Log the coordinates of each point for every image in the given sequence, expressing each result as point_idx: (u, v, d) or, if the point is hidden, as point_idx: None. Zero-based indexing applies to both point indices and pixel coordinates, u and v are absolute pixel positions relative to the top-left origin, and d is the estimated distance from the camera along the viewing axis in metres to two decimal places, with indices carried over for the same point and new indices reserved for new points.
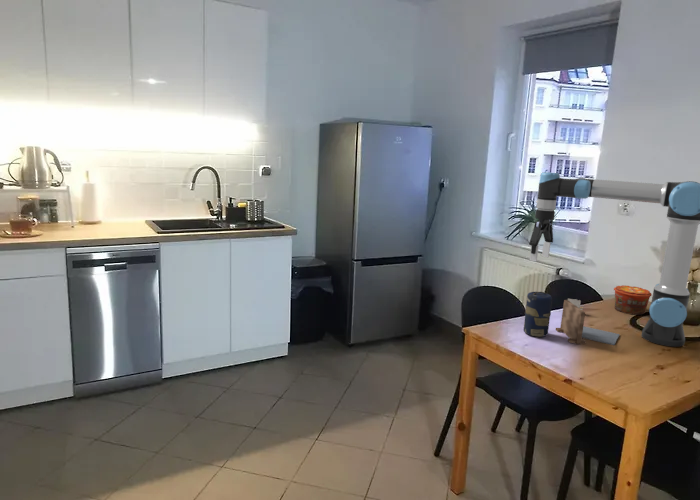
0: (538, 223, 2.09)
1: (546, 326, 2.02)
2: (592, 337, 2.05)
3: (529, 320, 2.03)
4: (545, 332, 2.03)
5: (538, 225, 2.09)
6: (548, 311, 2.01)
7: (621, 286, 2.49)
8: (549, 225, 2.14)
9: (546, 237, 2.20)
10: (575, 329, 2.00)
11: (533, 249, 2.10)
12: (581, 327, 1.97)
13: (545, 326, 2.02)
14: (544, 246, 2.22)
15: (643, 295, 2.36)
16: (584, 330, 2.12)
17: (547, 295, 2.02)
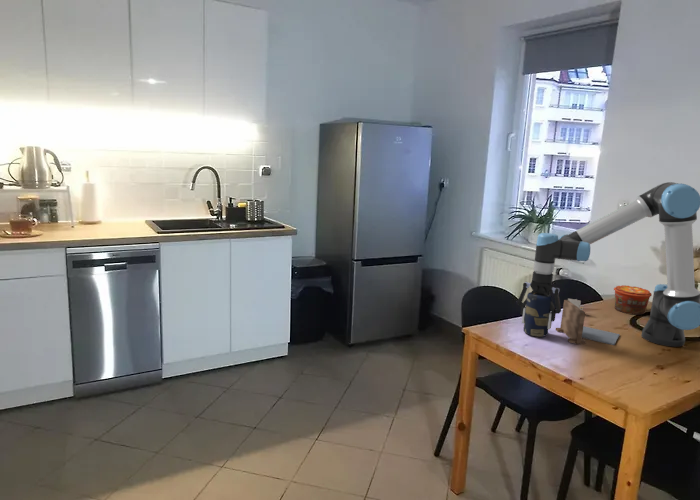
0: None
1: (546, 326, 2.02)
2: (592, 337, 2.05)
3: (529, 320, 2.03)
4: (545, 332, 2.03)
5: None
6: (548, 311, 2.01)
7: (621, 286, 2.49)
8: (543, 289, 2.01)
9: None
10: (575, 329, 2.00)
11: None
12: (581, 327, 1.97)
13: (545, 326, 2.02)
14: None
15: (643, 295, 2.36)
16: (584, 330, 2.12)
17: None
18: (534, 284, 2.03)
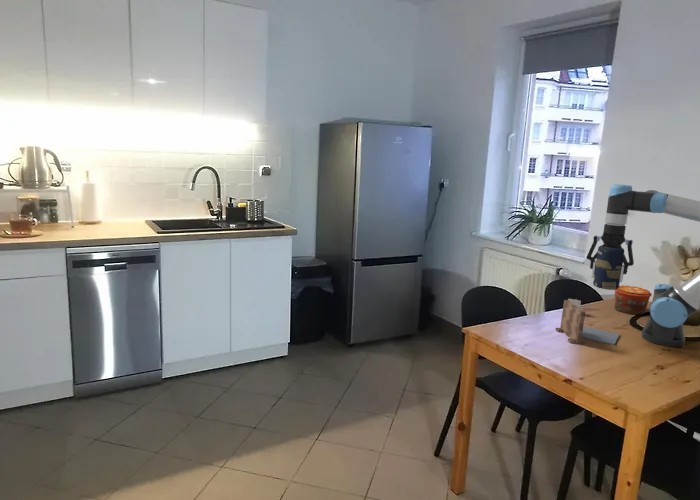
0: (594, 237, 2.04)
1: (618, 279, 2.00)
2: (592, 337, 2.05)
3: (601, 273, 2.00)
4: (617, 285, 2.00)
5: None
6: (621, 263, 1.98)
7: (621, 286, 2.49)
8: (616, 242, 1.98)
9: None
10: (575, 329, 2.00)
11: (590, 264, 2.06)
12: (581, 327, 1.97)
13: (617, 278, 1.99)
14: None
15: (643, 295, 2.36)
16: (584, 330, 2.12)
17: None
18: (606, 237, 2.01)
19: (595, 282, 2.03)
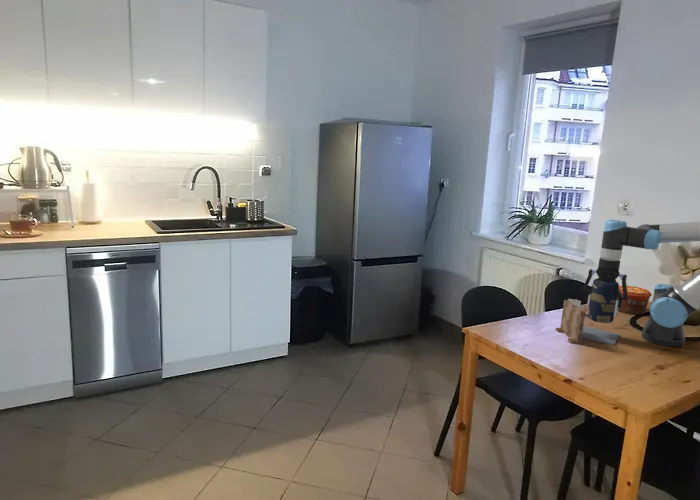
0: (589, 270, 2.07)
1: (612, 312, 2.02)
2: (592, 337, 2.05)
3: (596, 307, 2.03)
4: (611, 318, 2.03)
5: None
6: (615, 297, 2.01)
7: (621, 286, 2.49)
8: (610, 276, 2.01)
9: None
10: (575, 329, 2.00)
11: None
12: (581, 327, 1.97)
13: (611, 312, 2.02)
14: None
15: (643, 295, 2.36)
16: (584, 330, 2.12)
17: None
18: (600, 271, 2.03)
19: (590, 315, 2.06)
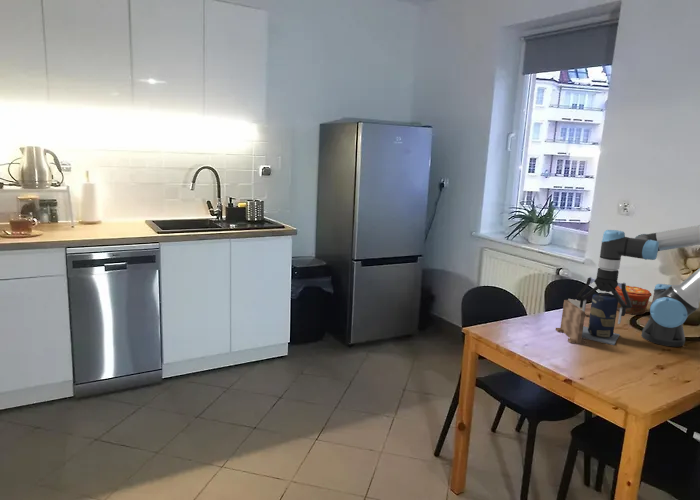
0: (588, 278, 2.07)
1: (612, 327, 2.03)
2: (592, 337, 2.05)
3: (596, 321, 2.04)
4: (611, 333, 2.04)
5: (587, 280, 2.07)
6: (615, 312, 2.02)
7: None
8: (609, 286, 2.02)
9: None
10: (575, 329, 2.00)
11: (580, 302, 2.10)
12: (581, 327, 1.97)
13: (611, 327, 2.03)
14: None
15: (643, 295, 2.36)
16: (584, 330, 2.12)
17: (613, 296, 2.03)
18: (599, 281, 2.04)
19: (590, 329, 2.07)
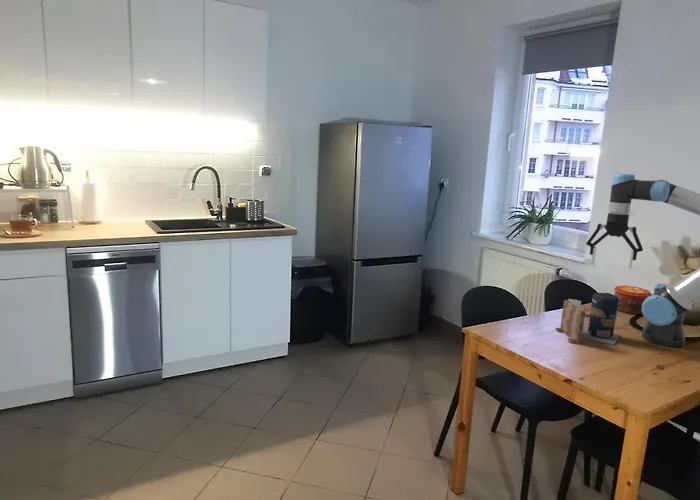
0: (598, 224, 2.05)
1: (612, 327, 2.03)
2: (592, 337, 2.05)
3: (596, 321, 2.04)
4: (611, 333, 2.04)
5: (597, 226, 2.05)
6: (615, 312, 2.02)
7: (621, 286, 2.49)
8: (620, 230, 2.00)
9: (630, 245, 2.01)
10: (575, 329, 2.00)
11: (590, 250, 2.08)
12: (581, 327, 1.97)
13: (611, 327, 2.03)
14: None
15: (643, 295, 2.36)
16: (584, 330, 2.12)
17: (613, 296, 2.03)
18: (609, 226, 2.02)
19: (590, 329, 2.07)
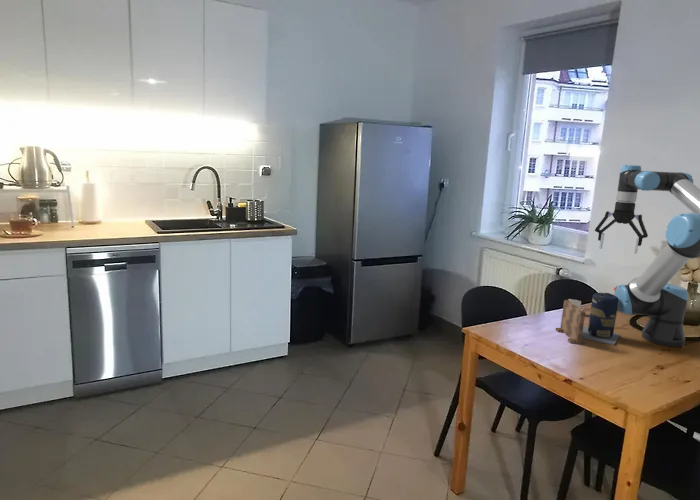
0: (606, 212, 2.20)
1: (612, 327, 2.03)
2: (592, 337, 2.05)
3: (596, 321, 2.04)
4: (611, 333, 2.04)
5: (605, 214, 2.20)
6: (615, 312, 2.02)
7: None
8: (626, 218, 2.14)
9: (636, 232, 2.15)
10: (575, 329, 2.00)
11: (598, 236, 2.23)
12: (581, 327, 1.97)
13: (611, 327, 2.03)
14: None
15: None
16: (584, 330, 2.12)
17: (613, 296, 2.03)
18: (617, 214, 2.17)
19: (590, 329, 2.07)
